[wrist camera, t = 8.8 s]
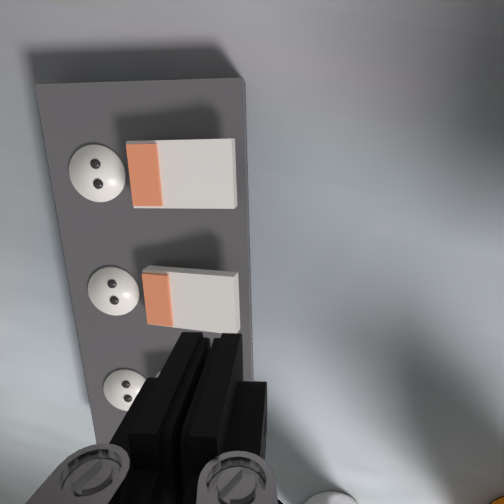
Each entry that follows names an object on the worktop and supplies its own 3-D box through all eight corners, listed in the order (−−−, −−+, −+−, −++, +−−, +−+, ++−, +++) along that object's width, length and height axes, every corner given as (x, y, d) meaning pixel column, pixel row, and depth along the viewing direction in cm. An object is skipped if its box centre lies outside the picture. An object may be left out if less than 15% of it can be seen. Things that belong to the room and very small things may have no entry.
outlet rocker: (238, 272, 27) (232, 278, 26) (240, 328, 29) (234, 337, 28) (149, 265, 29) (140, 271, 28) (155, 318, 31) (146, 326, 29)
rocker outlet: (234, 138, 25) (230, 138, 24) (237, 206, 27) (233, 209, 25) (133, 140, 26) (124, 141, 25) (140, 205, 28) (131, 209, 26)
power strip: (245, 82, 29) (241, 75, 25) (256, 494, 40) (255, 530, 36) (57, 88, 29) (27, 82, 26) (120, 492, 40) (106, 527, 37)
